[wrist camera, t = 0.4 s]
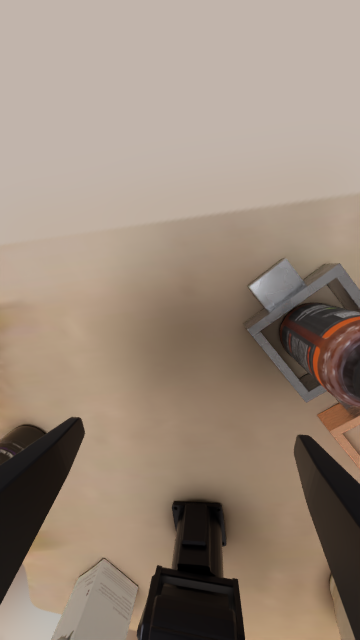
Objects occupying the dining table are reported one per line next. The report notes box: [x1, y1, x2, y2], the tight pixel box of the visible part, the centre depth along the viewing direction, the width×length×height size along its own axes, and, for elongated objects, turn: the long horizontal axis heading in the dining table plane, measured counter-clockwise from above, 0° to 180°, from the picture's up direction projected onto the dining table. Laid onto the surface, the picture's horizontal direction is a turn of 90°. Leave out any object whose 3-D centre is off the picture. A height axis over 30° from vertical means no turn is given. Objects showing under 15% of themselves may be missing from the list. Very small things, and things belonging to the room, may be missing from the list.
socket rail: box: [244, 258, 360, 469], centre depth 21 cm, size 28×9×2 cm, turn 40°
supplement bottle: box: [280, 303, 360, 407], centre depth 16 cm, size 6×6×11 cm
